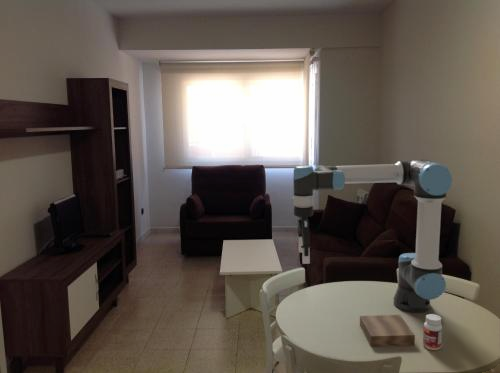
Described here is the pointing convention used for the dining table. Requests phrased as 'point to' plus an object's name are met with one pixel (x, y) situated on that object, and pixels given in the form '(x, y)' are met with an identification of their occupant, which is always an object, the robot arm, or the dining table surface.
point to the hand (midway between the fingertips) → (303, 257)
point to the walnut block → (386, 330)
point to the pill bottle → (432, 332)
